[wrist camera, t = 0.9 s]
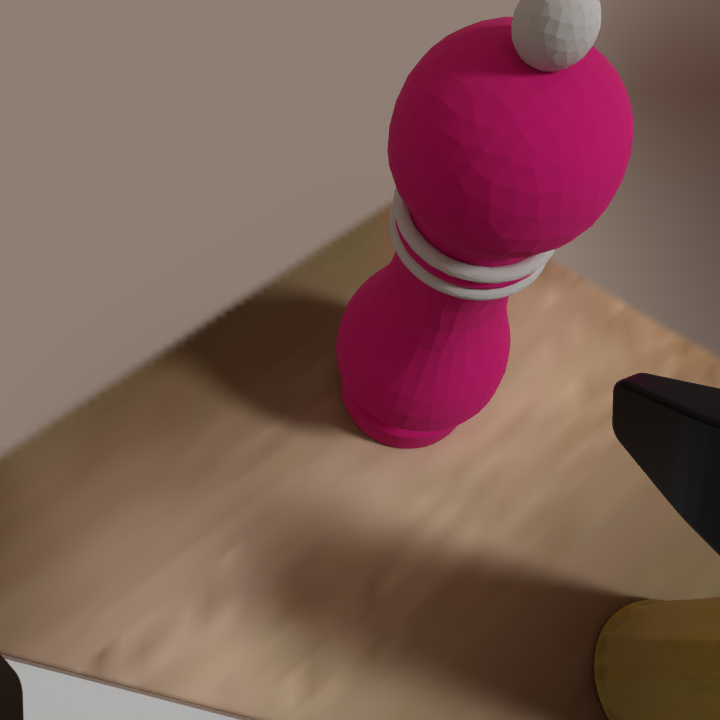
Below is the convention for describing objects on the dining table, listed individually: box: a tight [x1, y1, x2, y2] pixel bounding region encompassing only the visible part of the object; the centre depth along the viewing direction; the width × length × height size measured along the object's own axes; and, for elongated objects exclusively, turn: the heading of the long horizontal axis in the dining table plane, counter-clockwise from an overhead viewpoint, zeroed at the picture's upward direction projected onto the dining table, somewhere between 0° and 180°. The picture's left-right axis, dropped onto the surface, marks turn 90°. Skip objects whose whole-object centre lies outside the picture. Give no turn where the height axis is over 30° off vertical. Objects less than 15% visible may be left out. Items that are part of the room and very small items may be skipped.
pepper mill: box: [336, 0, 633, 449], centre depth 21 cm, size 7×7×20 cm
